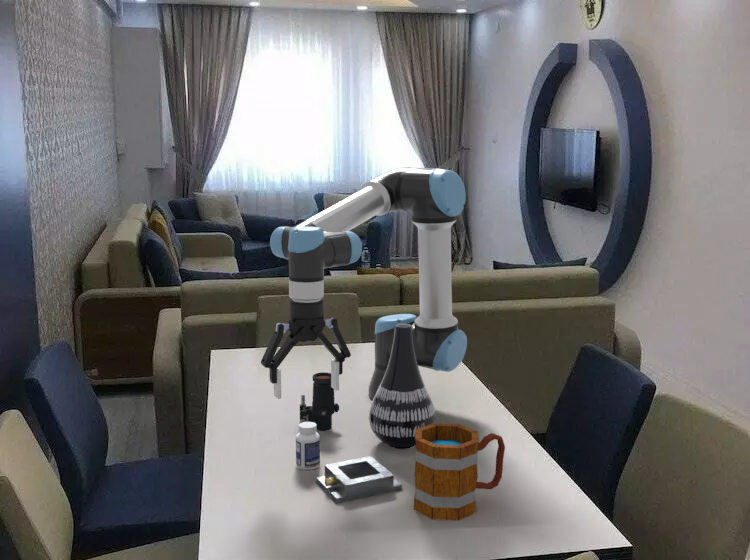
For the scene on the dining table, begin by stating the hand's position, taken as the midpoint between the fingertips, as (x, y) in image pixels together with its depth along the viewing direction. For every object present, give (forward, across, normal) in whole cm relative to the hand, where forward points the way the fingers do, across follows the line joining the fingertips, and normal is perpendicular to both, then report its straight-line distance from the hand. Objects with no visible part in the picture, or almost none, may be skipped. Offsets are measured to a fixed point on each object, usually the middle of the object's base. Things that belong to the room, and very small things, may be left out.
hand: (306, 392), depth 176 cm
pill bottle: (+17, 0, 0) cm, 17 cm away
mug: (+17, -21, +30) cm, 41 cm away
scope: (+17, -11, -20) cm, 29 cm away
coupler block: (+17, -6, +14) cm, 23 cm away
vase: (+17, -25, -2) cm, 31 cm away
